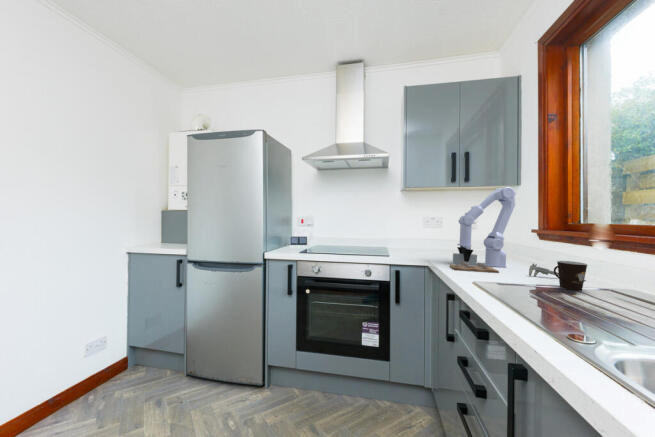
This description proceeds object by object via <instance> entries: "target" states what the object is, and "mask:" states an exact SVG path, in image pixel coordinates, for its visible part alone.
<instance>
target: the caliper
mask: <svg viewBox="0 0 655 437" xmlns="http://www.w3.org/2000/svg"><path fill="white" fill-rule="evenodd" d="M528 268H529V269H528V275H529V276H530V277H531V276H532V274H533V277H535V278H536V277H537V275H538V274H539V273H540V274H543V275H546V276H548V275H554V276H556V275H555V274H554V270H553V271H552V270H550V269H548V268H545V267H541V266H538V264H537V263H536V264H535V263H532V265H530V266H529V267H528ZM533 272H534V273H533ZM556 274H557V275H558V276H559V273H558V271H556ZM584 282H587V280H586V279H584Z"/></svg>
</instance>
